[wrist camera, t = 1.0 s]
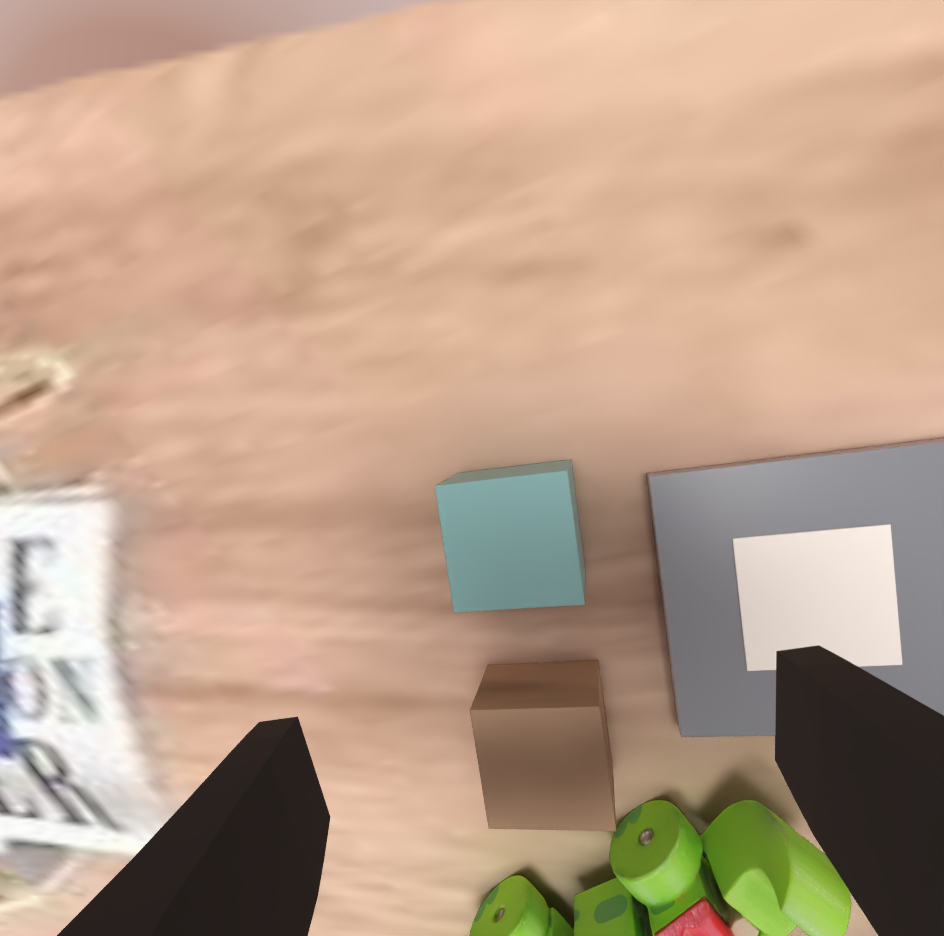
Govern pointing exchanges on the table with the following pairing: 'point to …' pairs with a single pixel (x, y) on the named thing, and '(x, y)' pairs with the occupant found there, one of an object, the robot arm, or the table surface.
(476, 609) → the teal block
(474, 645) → the table surface
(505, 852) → the table surface
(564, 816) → the walnut block
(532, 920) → the toy crocodile
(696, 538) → the baseplate
